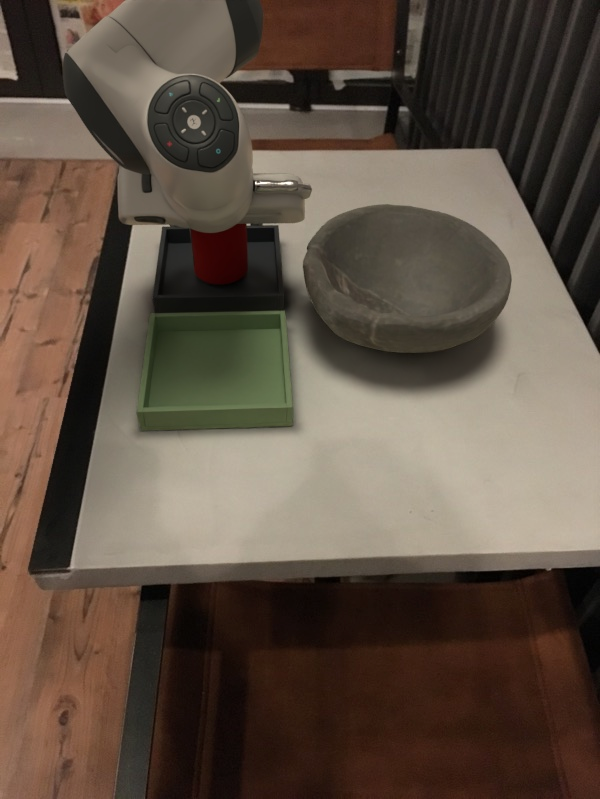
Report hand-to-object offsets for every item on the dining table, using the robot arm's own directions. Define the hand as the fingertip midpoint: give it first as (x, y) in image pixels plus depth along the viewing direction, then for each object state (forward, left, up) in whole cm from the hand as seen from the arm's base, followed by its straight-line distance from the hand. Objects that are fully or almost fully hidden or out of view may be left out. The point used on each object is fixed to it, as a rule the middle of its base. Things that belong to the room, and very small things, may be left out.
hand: (216, 219), depth 81 cm
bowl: (+21, -11, -8) cm, 25 cm away
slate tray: (0, -1, -8) cm, 8 cm away
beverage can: (0, -1, -8) cm, 8 cm away
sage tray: (0, -19, -8) cm, 20 cm away
